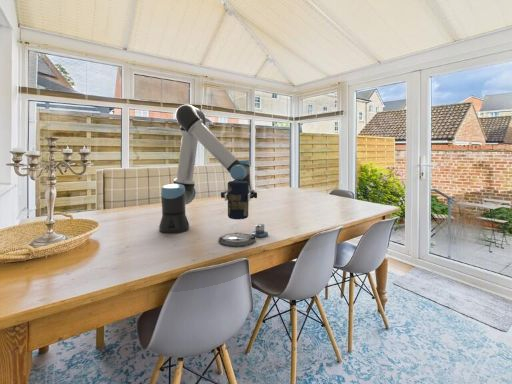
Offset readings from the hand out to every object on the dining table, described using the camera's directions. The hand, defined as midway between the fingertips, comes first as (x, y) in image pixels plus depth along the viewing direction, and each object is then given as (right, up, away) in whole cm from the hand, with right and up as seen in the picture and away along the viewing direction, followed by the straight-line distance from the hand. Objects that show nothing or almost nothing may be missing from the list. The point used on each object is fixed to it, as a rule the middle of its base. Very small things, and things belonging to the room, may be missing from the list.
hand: (237, 197), depth 127 cm
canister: (0, -10, +5) cm, 11 cm away
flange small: (+10, -19, +16) cm, 26 cm away
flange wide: (0, -20, +6) cm, 21 cm away
